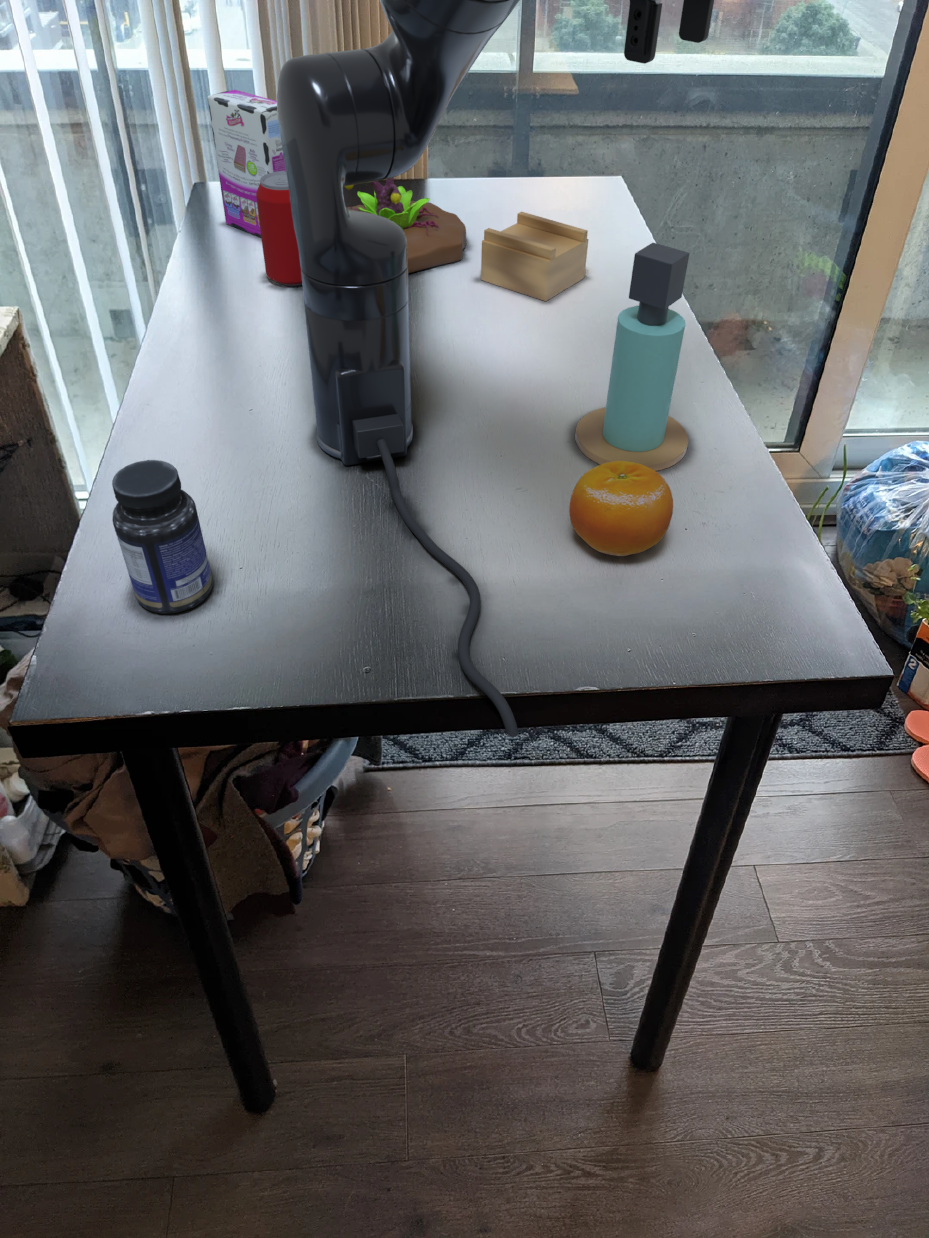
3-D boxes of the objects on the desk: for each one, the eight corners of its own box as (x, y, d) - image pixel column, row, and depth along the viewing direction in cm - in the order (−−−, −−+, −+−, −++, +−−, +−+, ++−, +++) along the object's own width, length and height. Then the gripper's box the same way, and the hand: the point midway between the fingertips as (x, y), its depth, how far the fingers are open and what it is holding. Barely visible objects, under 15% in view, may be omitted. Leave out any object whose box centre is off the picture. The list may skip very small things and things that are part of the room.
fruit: (623, 458, 85) (627, 421, 77) (689, 526, 83) (699, 495, 75) (551, 518, 85) (548, 487, 77) (615, 588, 83) (618, 563, 75)
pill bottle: (215, 564, 79) (191, 451, 71) (212, 613, 74) (186, 498, 67) (139, 570, 78) (107, 456, 71) (131, 620, 74) (95, 505, 66)
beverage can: (325, 268, 123) (317, 170, 115) (313, 290, 118) (304, 190, 110) (273, 265, 123) (262, 168, 115) (260, 287, 118) (247, 187, 110)
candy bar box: (304, 235, 131) (292, 104, 120) (277, 245, 128) (261, 112, 117) (251, 214, 136) (235, 87, 125) (224, 224, 133) (204, 94, 122)
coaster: (707, 462, 91) (708, 455, 91) (602, 480, 89) (603, 473, 88) (656, 405, 99) (657, 398, 98) (558, 421, 96) (559, 414, 96)
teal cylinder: (710, 251, 81) (648, 234, 84) (677, 273, 78) (613, 255, 80) (674, 432, 94) (622, 412, 96) (644, 459, 90) (590, 438, 93)
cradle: (584, 278, 122) (589, 229, 118) (545, 301, 117) (549, 251, 112) (520, 258, 126) (523, 210, 122) (480, 280, 121) (481, 231, 117)
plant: (489, 262, 125) (492, 172, 117) (347, 284, 119) (340, 191, 112) (434, 210, 138) (433, 127, 131) (303, 227, 133) (295, 141, 125)
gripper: (711, -234, 55) (665, 79, 66) (807, -236, 63) (752, 42, 75) (600, -239, 58) (574, 60, 69) (706, -240, 67) (667, 27, 78)
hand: (666, 50), depth 72 cm, fingers open, 8 cm apart
